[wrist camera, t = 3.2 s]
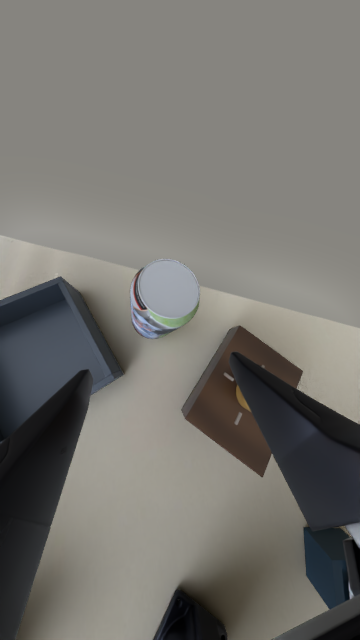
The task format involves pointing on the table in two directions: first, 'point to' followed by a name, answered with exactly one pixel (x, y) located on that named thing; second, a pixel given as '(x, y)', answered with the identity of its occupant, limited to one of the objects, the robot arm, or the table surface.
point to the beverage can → (163, 298)
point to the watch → (327, 564)
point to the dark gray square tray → (47, 349)
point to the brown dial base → (235, 399)
